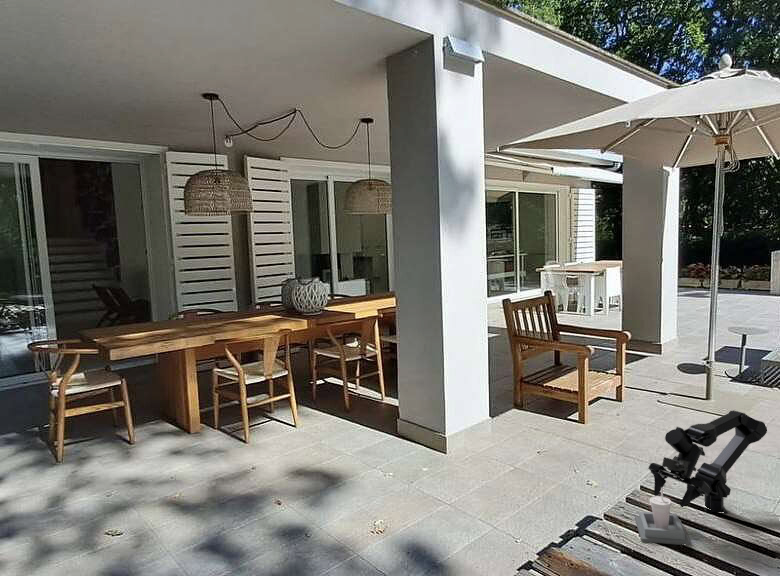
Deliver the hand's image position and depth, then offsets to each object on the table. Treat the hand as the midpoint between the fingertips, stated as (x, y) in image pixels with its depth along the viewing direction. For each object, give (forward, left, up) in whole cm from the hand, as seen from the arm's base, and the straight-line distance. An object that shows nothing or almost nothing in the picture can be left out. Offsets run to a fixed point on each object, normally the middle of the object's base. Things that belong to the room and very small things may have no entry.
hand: (667, 501), depth 173 cm
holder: (+3, -3, -9) cm, 10 cm away
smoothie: (+3, -3, -8) cm, 9 cm away
